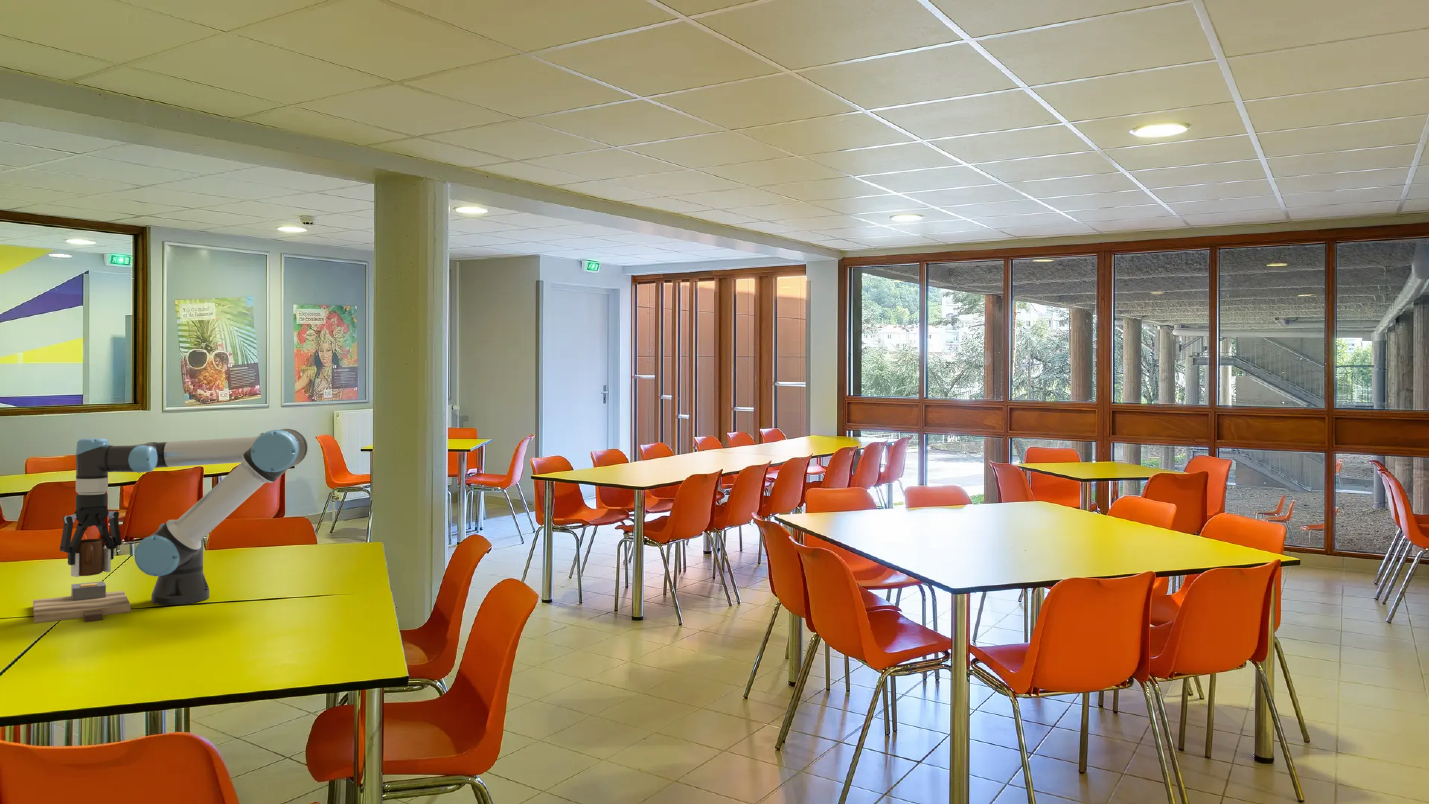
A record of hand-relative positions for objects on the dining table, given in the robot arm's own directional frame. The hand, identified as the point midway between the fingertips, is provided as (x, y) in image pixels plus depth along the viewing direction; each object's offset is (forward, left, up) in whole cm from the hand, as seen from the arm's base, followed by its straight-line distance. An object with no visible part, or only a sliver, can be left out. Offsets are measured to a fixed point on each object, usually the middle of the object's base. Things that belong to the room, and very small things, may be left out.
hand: (91, 573), depth 259 cm
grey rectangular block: (-5, -11, -9) cm, 15 cm away
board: (+1, -3, -11) cm, 11 cm away
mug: (+1, 0, 0) cm, 1 cm away
